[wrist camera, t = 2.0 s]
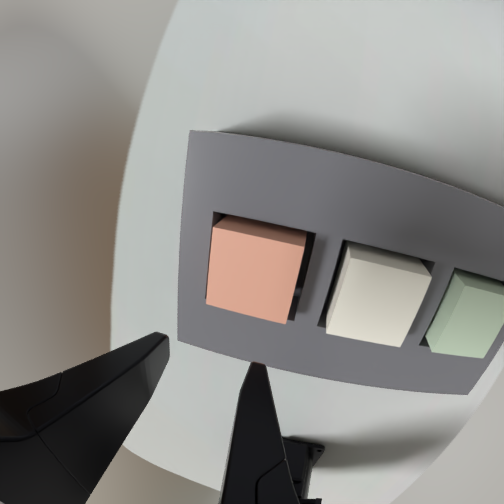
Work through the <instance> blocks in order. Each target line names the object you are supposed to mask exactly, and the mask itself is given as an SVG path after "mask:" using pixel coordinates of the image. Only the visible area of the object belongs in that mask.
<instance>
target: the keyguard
mask: <svg viewBox="0 0 504 504" xmlns="http://www.w3.org/2000/svg"><path fill="white" fill-rule="evenodd" d="M228 214H230V215H235V216H240V217H245V218H250V219H255V220H259V221H264V222H269V223H274V224H278V225H283V226H287V227H292V228H297V229H301V230H306V231H307V236H306V242H305V247H304V252H303V256H302V260H301V265H300V269H299V273H298V277H297V281H296V286H295V290H294V294H293V298H292V302H291V306H290V310H289V313H288V317H287V321H286V324H282V323H278V322H273V321H269V320H265V319H261V318H257V317H253V316H249V315H245V314H241V313H238V312H234V311H230V310H226V309H223V308H219V307H215V306H212V305H208V304H206V297H207V285H208V273H209V262H210V252H211V241H212V232H213V227H214V226H215V225H216V224H217V223H218V222H220V221H221V220H222V219H223V218H225V217H226V216H227V215H228ZM346 240H349V241H353V242H357V243H362V244H366V245H370V246H374V247H378V248H382V249H386V250H390V251H394V252H398V253H402V254H406V255H410V256H414V257H418V258H419V259H420V261H421V262H422V263H423V265H424V266H425V268H426V269H427V270H428V272H429V273H430V275H431V276H432V279H431V281H430V284H429V286H428V289H427V291H426V294H425V296H424V298H423V301H422V303H421V305H420V307H419V310H418V312H417V314H416V316H415V318H414V320H413V322H412V325H411V327H410V329H409V331H408V333H407V335H406V337H405V339H404V341H403V343H402V345H401V347H396V346H390V345H384V344H378V343H373V342H367V341H362V340H357V339H351V338H346V337H341V336H336V335H332V334H327V333H326V317H327V304H328V301H329V298H330V294H331V291H332V288H333V285H334V281H335V278H336V274H337V271H338V268H339V264H340V261H341V257H342V253H343V250H344V246H345V242H346ZM454 267H455V268H459V269H462V270H466V271H469V272H473V273H476V274H480V275H484V276H487V277H490V278H494V279H497V280H499V281H500V282H501V283H502V284H503V285H504V207H503V206H501V205H499V204H496V203H494V202H492V201H489V200H487V199H485V198H482V197H480V196H477V195H475V194H472V193H470V192H467V191H465V190H462V189H459V188H457V187H454V186H451V185H449V184H446V183H443V182H440V181H437V180H434V179H431V178H429V177H426V176H422V175H419V174H416V173H413V172H410V171H407V170H403V169H400V168H397V167H393V166H390V165H386V164H383V163H379V162H376V161H372V160H368V159H364V158H360V157H356V156H352V155H348V154H344V153H340V152H336V151H331V150H327V149H322V148H317V147H312V146H307V145H302V144H297V143H292V142H286V141H280V140H275V139H268V138H262V137H255V136H248V135H241V134H233V133H225V132H216V131H196V130H190V133H189V141H188V150H187V159H186V169H185V179H184V190H183V203H182V216H181V231H180V249H179V273H178V341H181V342H184V343H187V344H190V345H193V346H197V347H200V348H203V349H206V350H210V351H213V352H216V353H220V354H223V355H227V356H230V357H234V358H237V359H241V360H245V361H249V362H252V361H255V362H259V363H263V364H265V365H266V366H268V367H272V368H277V369H281V370H285V371H290V372H294V373H299V374H303V375H308V376H313V377H318V378H323V379H329V380H334V381H340V382H346V383H352V384H358V385H365V386H372V387H379V388H387V389H395V390H404V391H414V392H425V393H439V394H457V395H468V394H469V392H470V391H471V390H472V388H473V387H474V386H475V384H476V383H477V381H478V380H479V379H480V377H481V376H482V374H483V373H484V371H485V370H486V368H487V367H488V366H489V364H490V362H491V361H492V359H493V358H494V356H495V355H496V353H497V351H498V350H499V348H500V347H501V345H502V343H503V341H504V324H503V326H502V327H501V329H500V331H499V333H498V335H497V336H496V338H495V340H494V342H493V343H492V345H491V347H490V348H489V350H488V352H487V353H486V355H485V356H484V358H474V357H466V356H457V355H449V354H442V353H435V352H432V351H431V349H430V346H429V344H428V341H427V339H426V336H425V332H426V330H427V328H428V326H429V324H430V322H431V320H432V318H433V316H434V314H435V312H436V310H437V308H438V305H439V303H440V301H441V299H442V297H443V294H444V292H445V290H446V287H447V285H448V282H449V280H450V278H451V275H452V273H453V270H454Z"/></svg>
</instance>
